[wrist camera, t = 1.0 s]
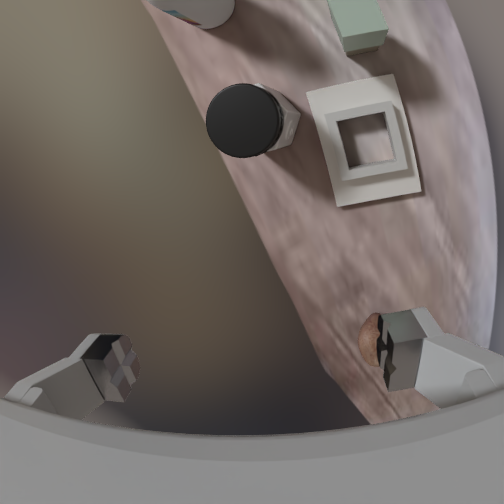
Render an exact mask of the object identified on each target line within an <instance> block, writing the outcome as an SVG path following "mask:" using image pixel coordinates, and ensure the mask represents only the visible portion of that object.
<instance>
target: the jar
mask: <svg viewBox="0 0 504 504" xmlns="http://www.w3.org/2000/svg"><path fill="white" fill-rule="evenodd" d="M300 115H301V114H300V113H299V112H298V110H297V109H296V108H295V107H294V106H293V105H292V104H291V103H290V102H289V101H288V100H287V99H286V98H285V97H284V96H283V95H282V94H281V93H280V92H279V91H277V90H274V89H272V88H270V87H267V86H265V85H262V84H260V83H258V84H254V85H252V84H245V83H242V84H235V85H231V86H229V87H226V88H225V89H223V90H221V91H220V92H219V93H218V94H217V95H216V96H215V97H214V98H213V100H212V101H211V103H210V105H209V107H208V110H207V114H206V127H207V132H208V135H209V137H210V139H211V141H212V142H213V143H214V145H215V146H216V147H217V148H218V149H219V150H220V151H222V152H223V153H225V154H227V155H229V156H232V157H237V158H248V157H253V156H258V155H261V154H263V153H265V152H268V151H272V150H276V149H279V148H283V147H286V146H289V145H291V144H292V141H293V138H294V135H295V132H296V128H297V125H298V122H299V119H300Z"/></svg>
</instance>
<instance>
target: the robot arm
mask: <svg viewBox="0 0 504 504" xmlns="http://www.w3.org/2000/svg"><path fill="white" fill-rule="evenodd" d="M377 328H378V330H379V333H380V335H379V337H378V338H377V344H376V350H377V359H378V363H379V366H380V368H381V369H383V370H384V374H383V378H384V381H385V384H386V387H387V390H388V392H391V391H397V390H403V389H408V388H414V387H415V389H416V390H417V391H418V392H420V393H421V394H422V395H424V396H425V397H426V398H428V399H429V400H430V401H431V402H433V403H434V404H435V405H437V406H438V407H439V408H441V409H440V410H436V411H432V412H428V413H424V414H420V415H416V416H412V417H407V418H403V419H398V420H393V421H388V422H383V423H378V424H372V425H366V426H360V427H353V428H346V429H338V430H330V431H320V432H310V433H298V434H281V435H251V436H225V435H195V434H179V433H166V432H157V431H148V430H139V429H132V428H125V427H118V426H112V425H106V424H100V423H95V422H90V421H84V420H82V419H83V418H84V417H85V416H87V415H88V414H89V413H90V412H92V411H93V410H94V409H96V408H97V407H98V406H99V405H101V404H102V403H103V402H104V400H108V401H118V402H125V400H126V398H127V396H128V395H129V393H130V391H131V386H130V385H131V384H132V383H134V382H135V381H136V380H137V379H138V377H139V373H140V363H139V359H138V357H137V355H136V354H135V353H134V352H132V350H131V348H132V343H131V340H130V338H129V337H128V336H127V335H125V334H90V335H88V336H87V337H86V339H85V340H84V341H83V342H82V343H81V344H80V345H79V346H78V348H77V349H76V350H75V351H74V352H73V353H72V355H71V356H70V357H69V358H64V359H62V360H60V361H58V362H56V363H54V364H52V365H50V366H48V367H46V368H44V369H42V370H40V371H38V372H36V373H35V374H33V375H30V376H29V377H26V378H24V379H23V380H20V381H19V382H17V383H16V384H15V385H14V387H13V388H12V389H11V390H10V391H9V393H7V395H6V396H5V397H4V398H0V504H504V356H502V355H499V354H497V353H495V352H492V351H490V350H487V349H485V348H483V347H480V346H478V345H476V344H473V343H471V342H469V341H466V340H464V339H461V338H459V337H457V336H454V335H452V334H450V333H446V334H444V333H443V331H442V330H441V328H440V327H439V325H438V324H437V323H436V321H435V320H434V318H433V317H432V316H431V314H430V313H429V311H428V310H427V309H426V307H419V308H414V309H409V310H405V311H400V312H394V313H389V314H383V315H379V316H378V323H377Z"/></svg>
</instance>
